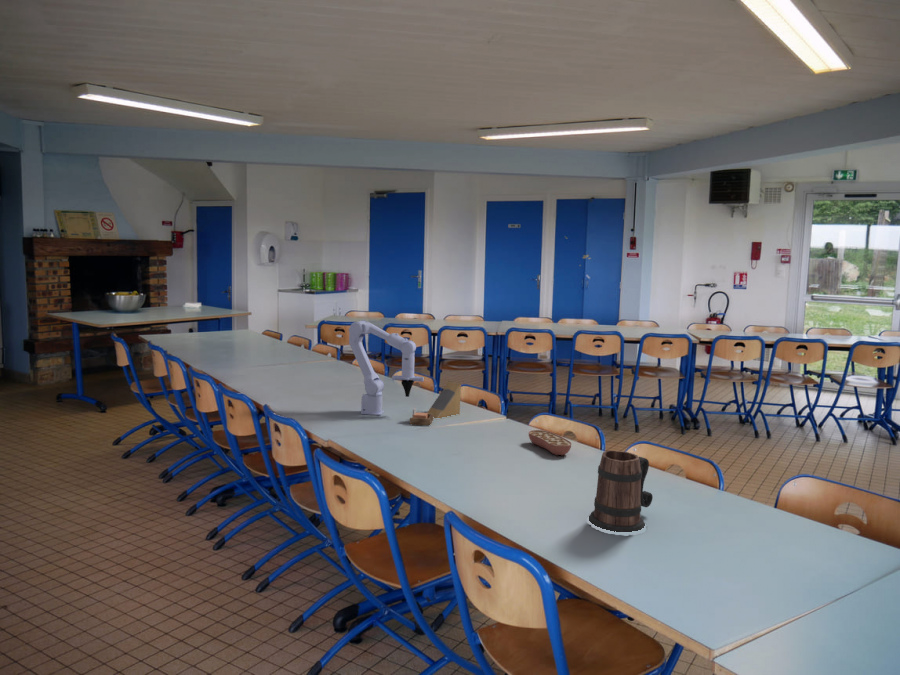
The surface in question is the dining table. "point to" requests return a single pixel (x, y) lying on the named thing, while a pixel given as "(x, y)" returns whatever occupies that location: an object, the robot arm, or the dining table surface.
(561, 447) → the brown bread loaf
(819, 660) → the dining table surface
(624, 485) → the tankard
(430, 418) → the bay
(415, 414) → the cart
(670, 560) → the dining table surface
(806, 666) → the dining table surface
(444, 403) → the sandwich container
